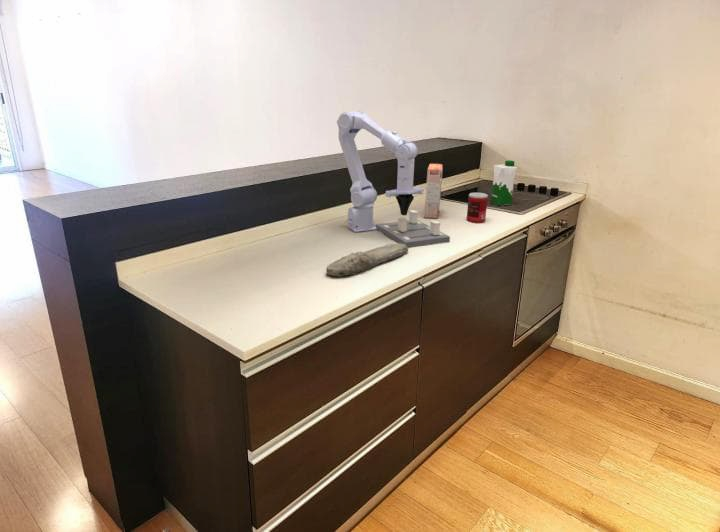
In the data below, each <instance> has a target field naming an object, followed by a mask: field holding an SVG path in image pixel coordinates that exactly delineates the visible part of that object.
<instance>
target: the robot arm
mask: <svg viewBox="0 0 720 532" xmlns="http://www.w3.org/2000/svg"><path fill="white" fill-rule="evenodd" d="M336 124H337V127H338V141H339V145H340V147H341V151H342V153H343V157H344V160H345V164H346V167H347V170H348V173H349V176H350V180H351V181H352V182H351V183H352V185H351V187H350V189H349V191H350V201H351V203H352V205H353V206H352V207H349V208H348V211H347V228H348V229H350V230H351V231H352V232H353V233H358V232H368V231H369V232H370V231H375V230H376V231H378V230H377V228H376V226H374V205H375V202H376V201H377V199H378V192H377V191H376V189H375V188H374V186H373V184H372V182H371V181H370V180H368V179H367V177H366V174H365V170H364V166H363V163H362V161H361V157H360V154H359V150H358V147H357V145H356V141H355V138H356V136H357V134H358V133H359V132H360V131H361V130H365V131H366V132H368V133H370V134H372V135H373V136H375V137H376V138H378V139H380V142H381V145H382V146H383V147H385V148H386V149H388V150H389V151H390V152H392V153H394V155H395V158H396V159H397V179H396V183H397V184H396V188H395V189H390V190H386V191H385V197H386V198H391V197H395V199H396V201H397V204H398V207H399V211H400V215H401V216H407V215H408V213H409V209H410V206H411V203H412V202H413V201H414V198H415V196H414V195H423V194H424V188H422V187H414V176H415V175H414V174H415V173H414V172H415V158H416V157H417V156H418V154H419V153H418V150H419V149H418V147H417V145H416V144H415V143H414V142H412V141H410V142H409V141H408V140H407V139H406V138H402V137H400V136H399V135H398V134H397V133H398V132H397V131H395V130H393V131H392V130H388V131H386V130H385V129H384V128H383V127H382V126H380V125H379V124H377V123H376V122H375V121H374V120H372V119H371V117H370V116H369V115H368V114H367V113H364V112H363V111H362V110H356V111H343V112H341V113H340V114H339V116H338V117H337V120H336ZM407 141H408V142H407Z"/></svg>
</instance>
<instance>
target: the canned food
mask: <svg viewBox="0 0 720 532" xmlns="http://www.w3.org/2000/svg"><path fill="white" fill-rule="evenodd" d="M488 198H489V196H488V194H486V193H484V192H470V193H469V194H468V199H467V201H468V202H467V209H466V210H467V212H466V221H467V222H470V223H472V224H473V223H474V224H483V223H484V222H485V221H486V218H487V208H488V200H489V199H488Z"/></svg>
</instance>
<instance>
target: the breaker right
mask: <svg viewBox="0 0 720 532" xmlns="http://www.w3.org/2000/svg"><path fill="white" fill-rule="evenodd" d="M440 226H441V222H439V221H437V220H431V221H430V233H431V234H433V235H439V231H440V229H441V228H440Z"/></svg>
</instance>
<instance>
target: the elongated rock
mask: <svg viewBox="0 0 720 532" xmlns="http://www.w3.org/2000/svg"><path fill="white" fill-rule="evenodd" d="M407 252H409V248H408V247H407V245H405V244H400V243H389V244H384V245H383V246H379V247H375V248H372V249H369V250H366V251H357V252H354V253H353V252H351V253H349V254H347V255H345V256H342V257H341V258H339V259H337V260H335V261H333V262H331V263H329V264H328V265H327V266H326V269H325V271H326V274H327V275H329V276H333V277H344V276H350V275H356V274H358V273H364V272H366V271H368V269H371V268H374V267H376V266H378V265H379V264H380V263H387V262H389V261H391V260H394V259H398V258H400V257H402V256H403V255H406V254H407Z"/></svg>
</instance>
